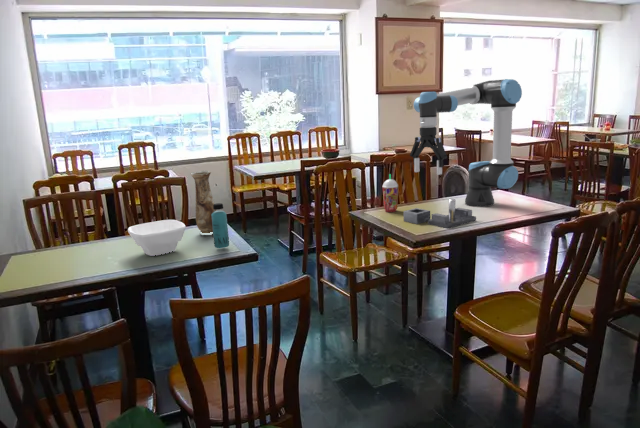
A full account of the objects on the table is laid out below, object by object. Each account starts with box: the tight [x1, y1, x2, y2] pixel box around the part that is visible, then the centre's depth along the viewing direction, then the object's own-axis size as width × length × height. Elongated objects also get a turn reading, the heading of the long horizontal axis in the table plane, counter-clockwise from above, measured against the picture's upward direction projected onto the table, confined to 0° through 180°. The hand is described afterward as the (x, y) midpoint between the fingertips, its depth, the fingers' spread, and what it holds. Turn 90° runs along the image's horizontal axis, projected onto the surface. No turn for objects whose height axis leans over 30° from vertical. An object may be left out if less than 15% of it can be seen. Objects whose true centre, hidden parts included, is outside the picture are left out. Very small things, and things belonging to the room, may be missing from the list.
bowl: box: [127, 219, 187, 257], centre depth 209 cm, size 22×22×12 cm
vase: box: [190, 170, 217, 233], centre depth 235 cm, size 10×11×30 cm
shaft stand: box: [427, 198, 477, 230], centre depth 233 cm, size 20×12×11 cm, turn 125°
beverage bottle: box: [211, 202, 230, 249], centre depth 208 cm, size 6×7×20 cm
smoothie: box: [382, 173, 399, 213], centre depth 261 cm, size 8×8×20 cm
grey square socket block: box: [403, 207, 431, 225], centre depth 240 cm, size 9×9×5 cm
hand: (427, 173), depth 229 cm, fingers open, 13 cm apart
